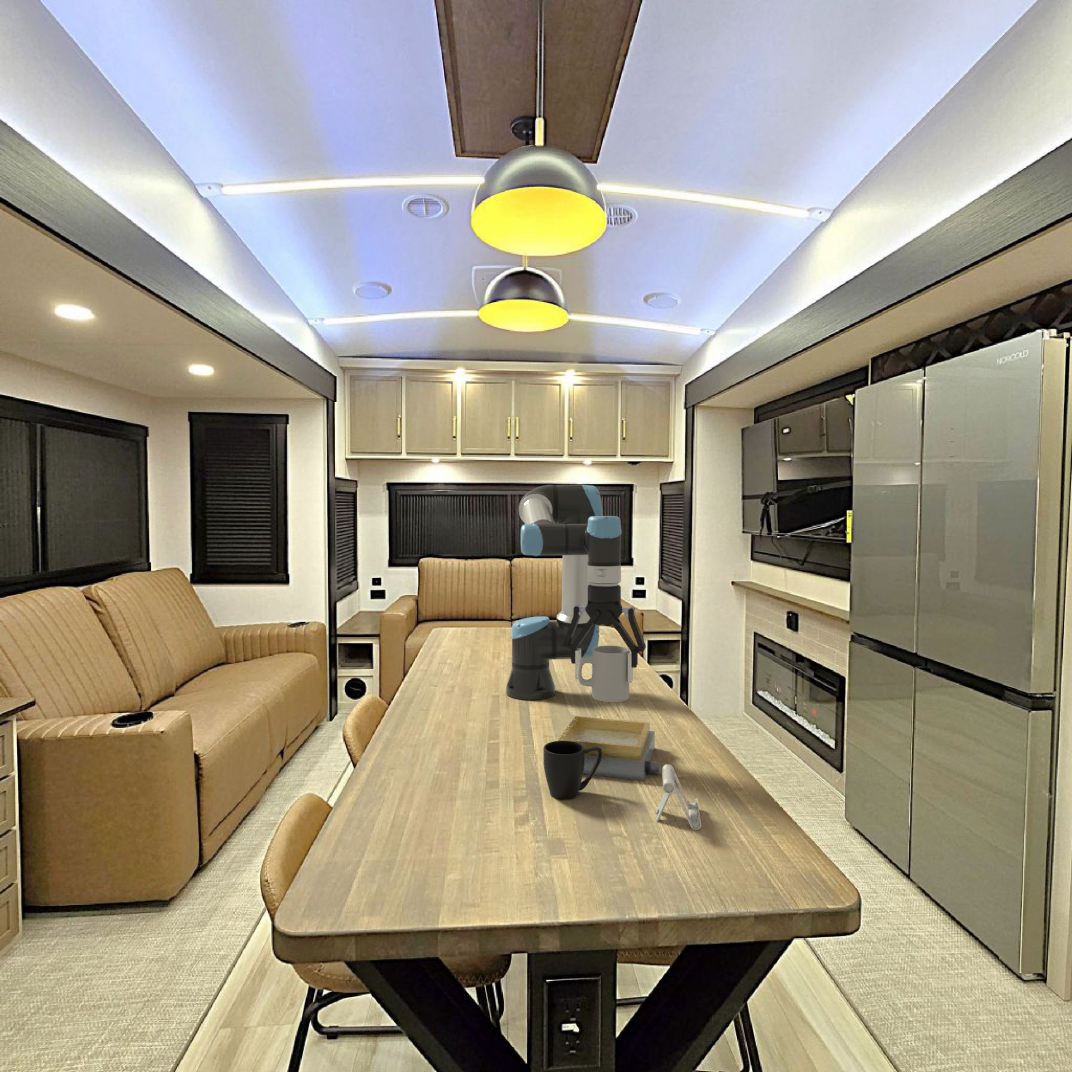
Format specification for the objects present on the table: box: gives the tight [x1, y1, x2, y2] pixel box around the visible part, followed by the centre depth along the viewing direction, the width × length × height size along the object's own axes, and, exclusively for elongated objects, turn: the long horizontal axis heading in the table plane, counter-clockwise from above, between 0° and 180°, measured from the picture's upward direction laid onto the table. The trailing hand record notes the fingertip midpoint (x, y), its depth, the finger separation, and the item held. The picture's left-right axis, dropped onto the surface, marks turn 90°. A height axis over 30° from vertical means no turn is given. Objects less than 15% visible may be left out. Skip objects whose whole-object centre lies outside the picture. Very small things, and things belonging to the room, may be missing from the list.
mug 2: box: [577, 645, 631, 703], centre depth 152 cm, size 12×8×11 cm
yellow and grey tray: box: [557, 715, 661, 782], centre depth 152 cm, size 23×20×6 cm
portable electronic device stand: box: [655, 764, 702, 831], centre depth 123 cm, size 9×8×8 cm
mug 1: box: [542, 740, 602, 801], centre depth 134 cm, size 8×12×10 cm
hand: (604, 679), depth 151 cm, fingers closed on mug 2, 11 cm apart
